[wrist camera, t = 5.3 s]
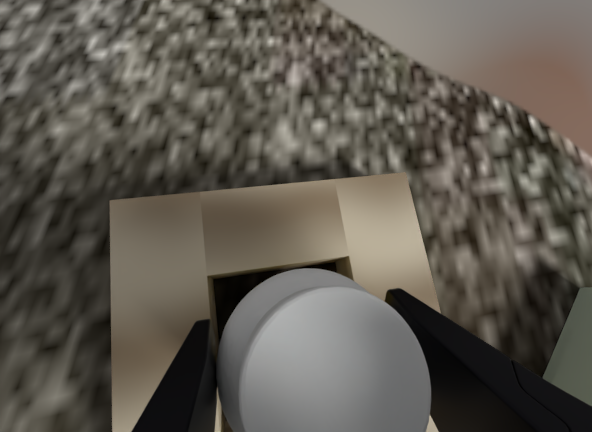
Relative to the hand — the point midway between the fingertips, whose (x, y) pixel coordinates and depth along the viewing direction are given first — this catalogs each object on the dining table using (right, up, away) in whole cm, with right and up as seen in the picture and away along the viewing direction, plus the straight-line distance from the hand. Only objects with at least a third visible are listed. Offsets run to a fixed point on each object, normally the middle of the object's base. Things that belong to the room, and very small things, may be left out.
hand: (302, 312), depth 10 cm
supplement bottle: (-1, -3, +6) cm, 7 cm away
